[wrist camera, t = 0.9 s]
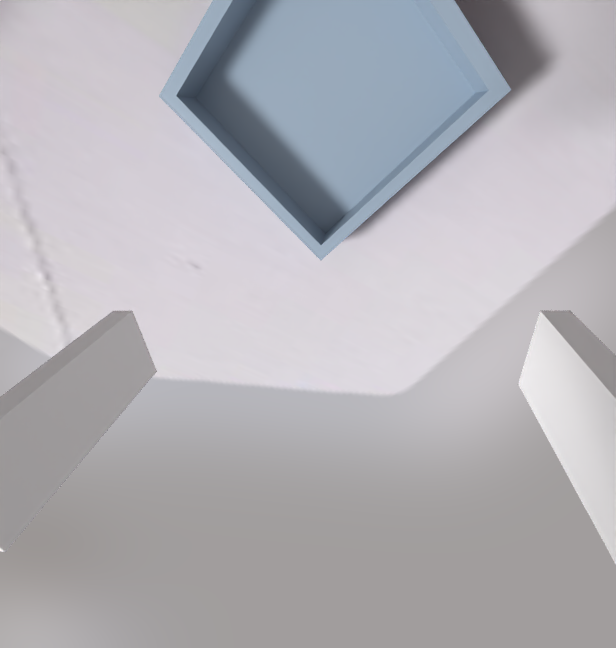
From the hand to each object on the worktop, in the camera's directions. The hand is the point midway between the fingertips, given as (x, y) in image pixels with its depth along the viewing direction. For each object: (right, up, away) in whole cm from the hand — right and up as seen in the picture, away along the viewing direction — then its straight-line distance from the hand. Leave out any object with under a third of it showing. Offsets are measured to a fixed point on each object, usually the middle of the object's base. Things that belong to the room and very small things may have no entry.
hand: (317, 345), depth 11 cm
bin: (+1, +19, +17) cm, 26 cm away
